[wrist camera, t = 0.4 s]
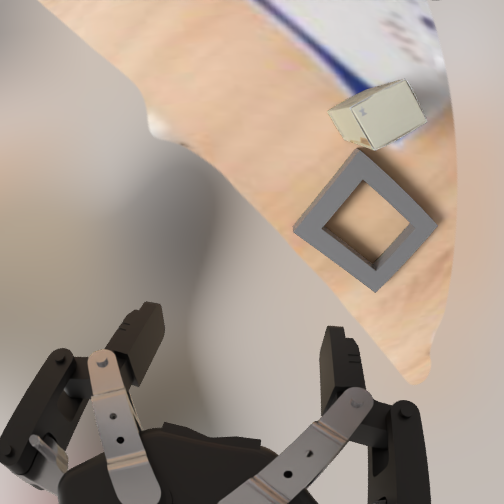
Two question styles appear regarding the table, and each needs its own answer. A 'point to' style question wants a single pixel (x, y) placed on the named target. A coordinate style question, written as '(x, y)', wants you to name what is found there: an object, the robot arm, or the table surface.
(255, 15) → the table surface
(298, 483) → the robot arm
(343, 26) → the table surface
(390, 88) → the skincare box
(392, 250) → the holder
